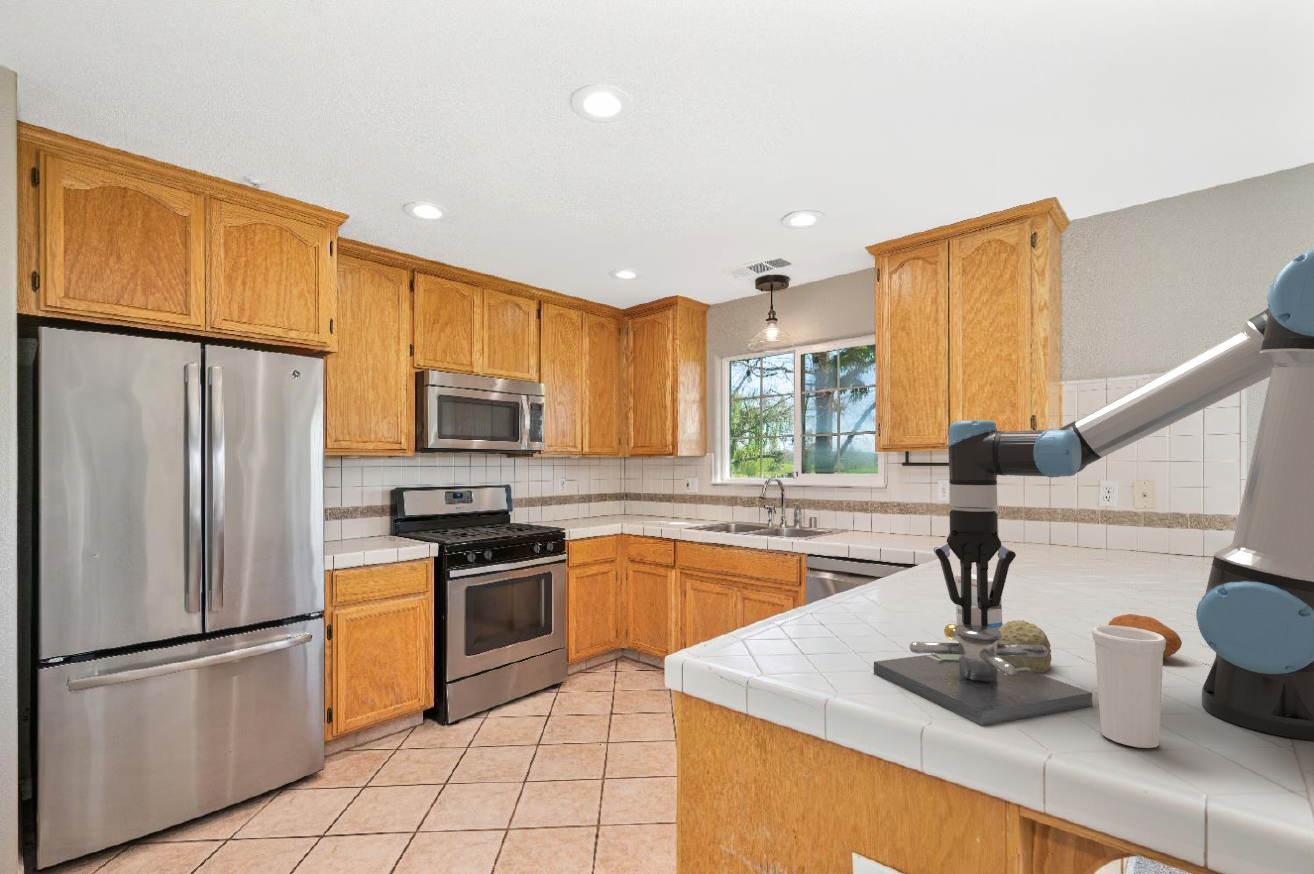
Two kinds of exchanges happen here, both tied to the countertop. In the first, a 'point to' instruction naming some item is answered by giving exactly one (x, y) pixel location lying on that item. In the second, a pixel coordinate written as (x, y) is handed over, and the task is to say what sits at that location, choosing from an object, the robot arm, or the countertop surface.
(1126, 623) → the potato
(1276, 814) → the countertop surface
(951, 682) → the stand
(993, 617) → the ink box
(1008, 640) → the decorative object
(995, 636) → the capstan
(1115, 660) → the cup
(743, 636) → the countertop surface
